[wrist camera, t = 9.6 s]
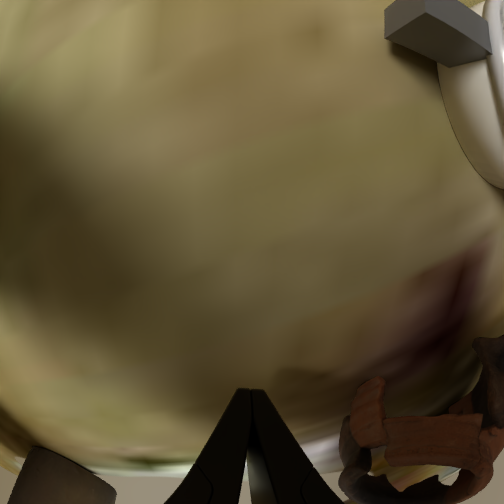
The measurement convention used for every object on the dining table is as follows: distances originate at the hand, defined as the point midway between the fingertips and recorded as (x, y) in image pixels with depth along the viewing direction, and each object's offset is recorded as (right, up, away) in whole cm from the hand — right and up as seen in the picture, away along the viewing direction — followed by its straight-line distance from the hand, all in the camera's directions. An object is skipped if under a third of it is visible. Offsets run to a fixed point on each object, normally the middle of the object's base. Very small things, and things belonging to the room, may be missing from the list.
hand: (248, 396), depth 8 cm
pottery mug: (+10, -2, +4) cm, 10 cm away
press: (+9, +11, -2) cm, 15 cm away
